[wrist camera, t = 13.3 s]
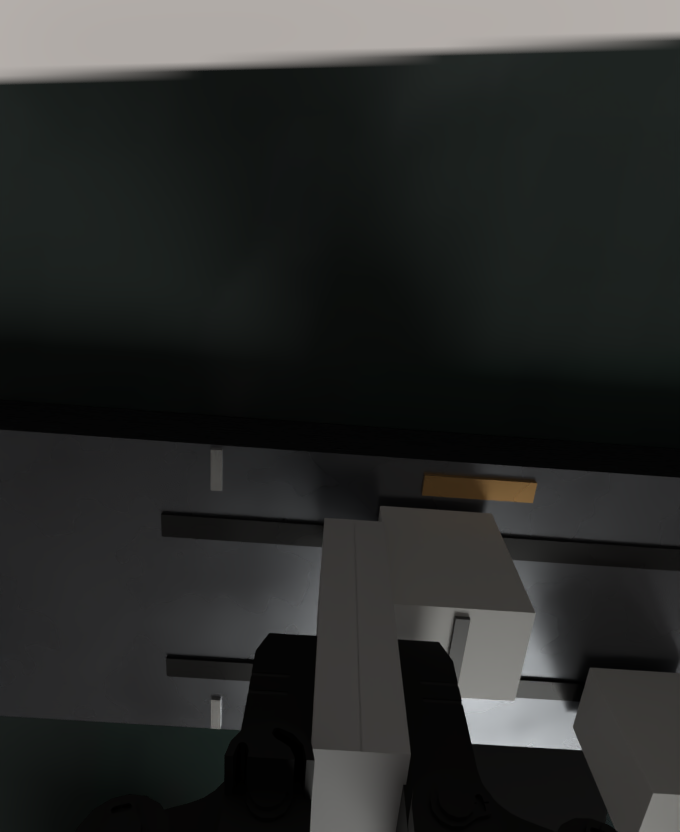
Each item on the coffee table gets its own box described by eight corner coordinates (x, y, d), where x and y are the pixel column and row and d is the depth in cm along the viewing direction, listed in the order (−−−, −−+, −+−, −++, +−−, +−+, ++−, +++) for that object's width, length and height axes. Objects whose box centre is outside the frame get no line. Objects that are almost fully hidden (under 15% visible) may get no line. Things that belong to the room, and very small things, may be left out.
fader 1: (371, 580, 17) (379, 696, 13) (379, 505, 16) (391, 606, 12) (477, 587, 17) (516, 704, 13) (491, 513, 16) (537, 616, 13)
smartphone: (630, 656, 21) (592, 932, 26) (621, 642, 21) (586, 914, 27) (415, 667, 21) (421, 938, 26) (412, 652, 22) (419, 920, 27)
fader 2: (572, 727, 19) (630, 864, 15) (589, 667, 18) (655, 797, 14) (666, 732, 19) (747, 870, 15) (688, 673, 18) (779, 804, 15)
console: (25, 668, 21) (-41, 772, 18) (-13, 399, 18) (-108, 459, 14) (811, 716, 22) (906, 826, 18) (930, 467, 18) (1080, 541, 15)
